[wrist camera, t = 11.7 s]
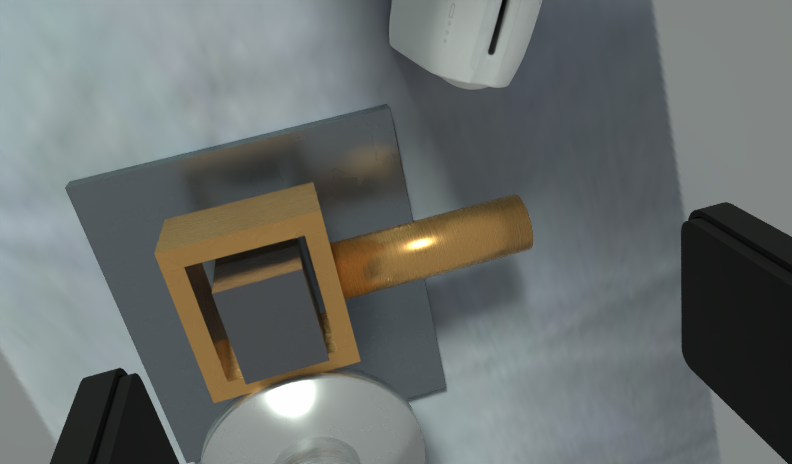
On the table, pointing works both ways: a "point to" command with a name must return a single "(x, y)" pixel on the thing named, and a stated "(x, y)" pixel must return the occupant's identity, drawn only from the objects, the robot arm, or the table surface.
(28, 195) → the table surface
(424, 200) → the table surface
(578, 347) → the table surface
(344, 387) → the ringlock standard
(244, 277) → the grey rectangular block
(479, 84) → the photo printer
